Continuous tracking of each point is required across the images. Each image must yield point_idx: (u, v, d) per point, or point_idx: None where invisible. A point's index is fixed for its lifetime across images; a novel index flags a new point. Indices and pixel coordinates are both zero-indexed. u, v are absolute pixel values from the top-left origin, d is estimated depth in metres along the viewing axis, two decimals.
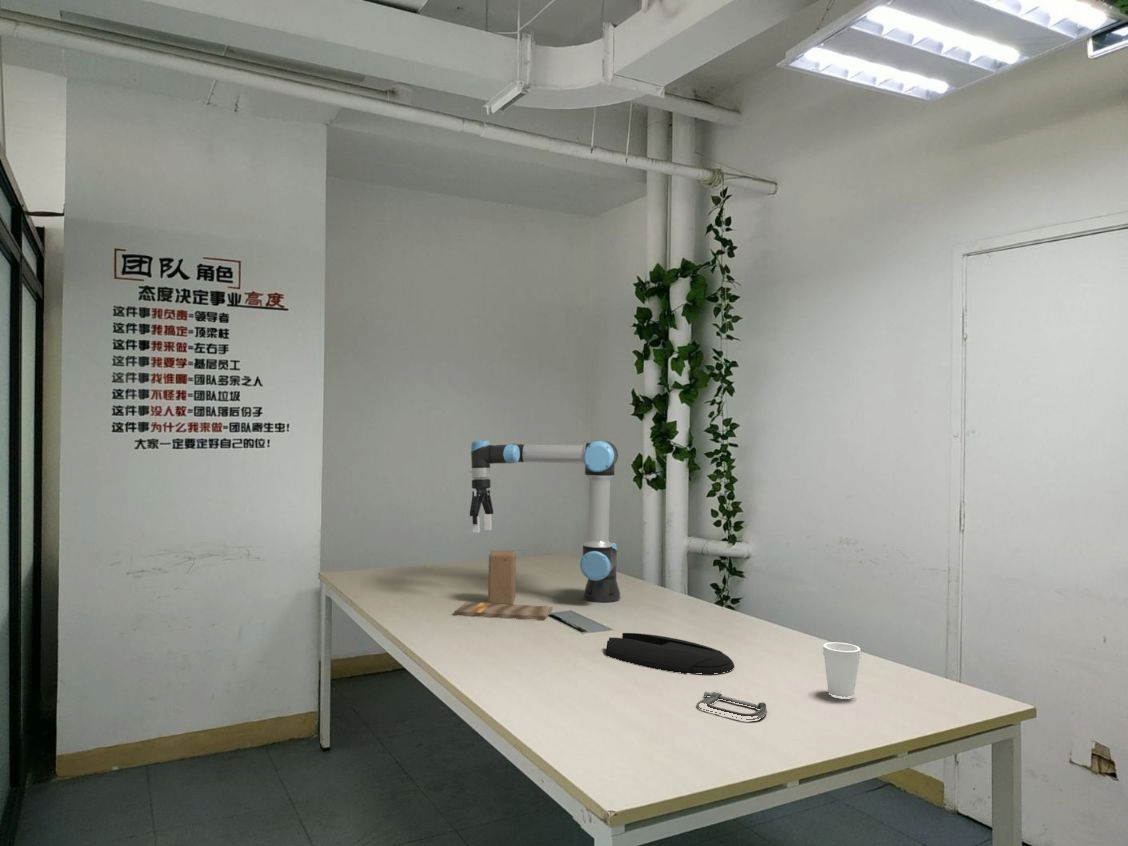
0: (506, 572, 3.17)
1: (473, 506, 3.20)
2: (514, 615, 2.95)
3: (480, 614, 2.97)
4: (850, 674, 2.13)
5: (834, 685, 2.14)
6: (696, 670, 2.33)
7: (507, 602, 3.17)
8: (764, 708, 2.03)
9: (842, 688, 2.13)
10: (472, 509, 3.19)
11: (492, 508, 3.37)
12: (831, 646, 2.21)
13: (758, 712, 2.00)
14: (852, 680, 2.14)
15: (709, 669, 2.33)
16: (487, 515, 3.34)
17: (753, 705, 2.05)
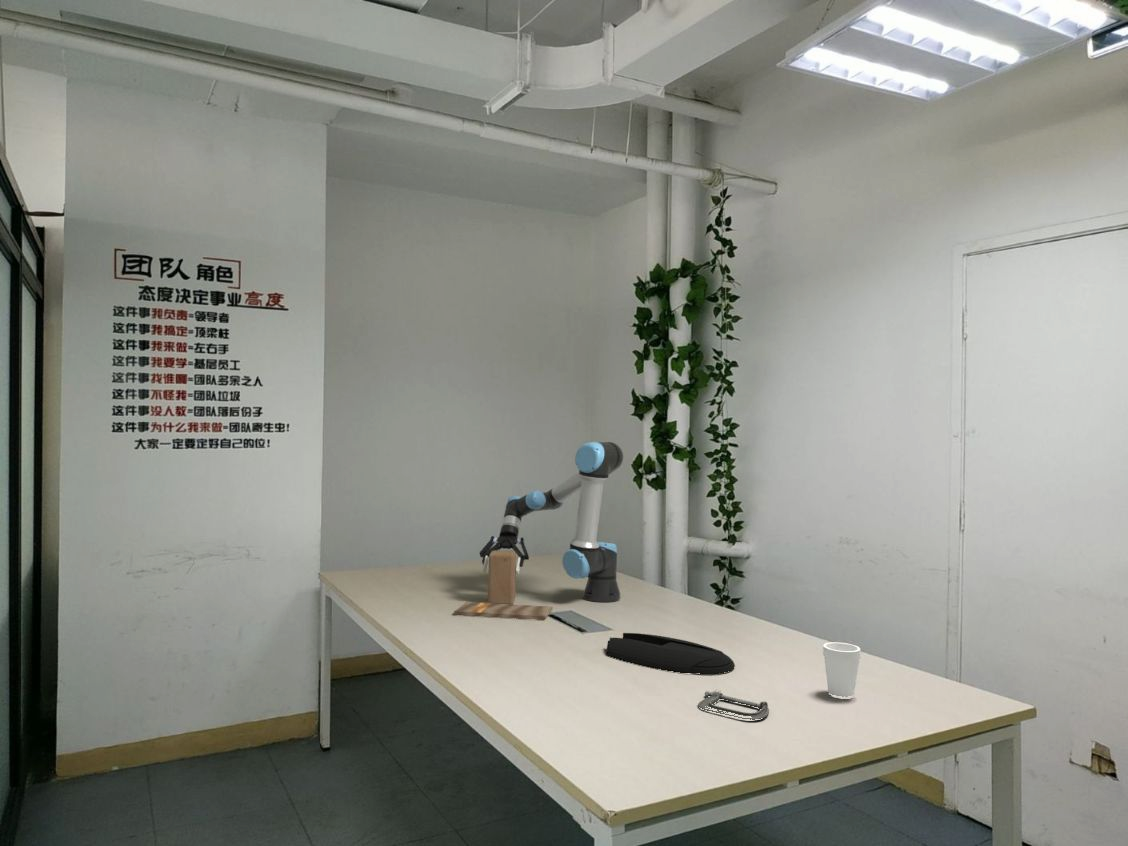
0: (506, 572, 3.17)
1: None
2: (514, 615, 2.95)
3: (480, 614, 2.97)
4: (850, 674, 2.13)
5: (834, 685, 2.14)
6: (697, 670, 2.33)
7: (507, 602, 3.17)
8: (766, 707, 2.03)
9: (842, 688, 2.13)
10: None
11: (526, 553, 3.27)
12: (831, 646, 2.21)
13: (760, 711, 2.00)
14: (852, 680, 2.14)
15: (710, 669, 2.33)
16: None
17: (755, 704, 2.05)
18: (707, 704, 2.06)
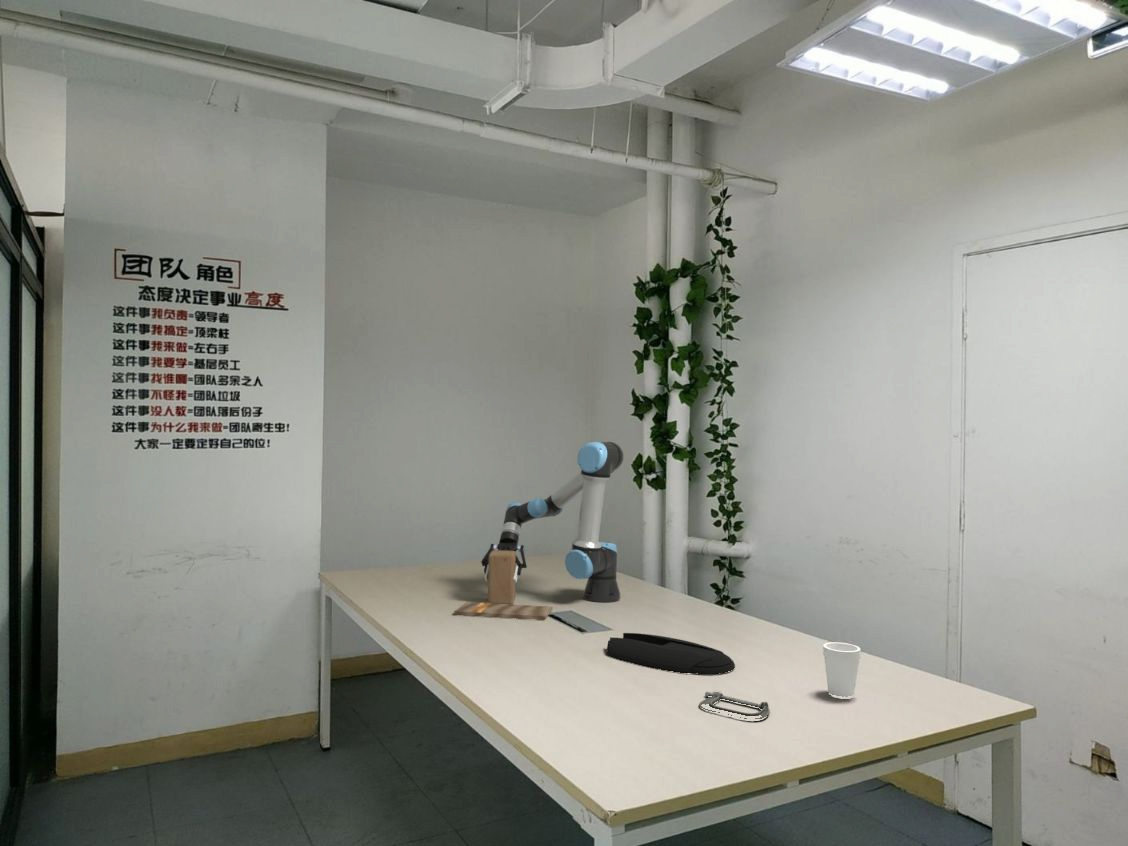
0: (506, 572, 3.17)
1: None
2: (514, 615, 2.95)
3: (480, 614, 2.97)
4: (850, 674, 2.13)
5: (834, 685, 2.14)
6: (697, 670, 2.33)
7: (507, 602, 3.17)
8: (767, 707, 2.03)
9: (842, 688, 2.13)
10: None
11: (524, 561, 3.23)
12: (831, 646, 2.21)
13: (761, 712, 2.00)
14: (852, 680, 2.14)
15: (710, 669, 2.33)
16: (516, 568, 3.22)
17: (755, 705, 2.06)
18: None
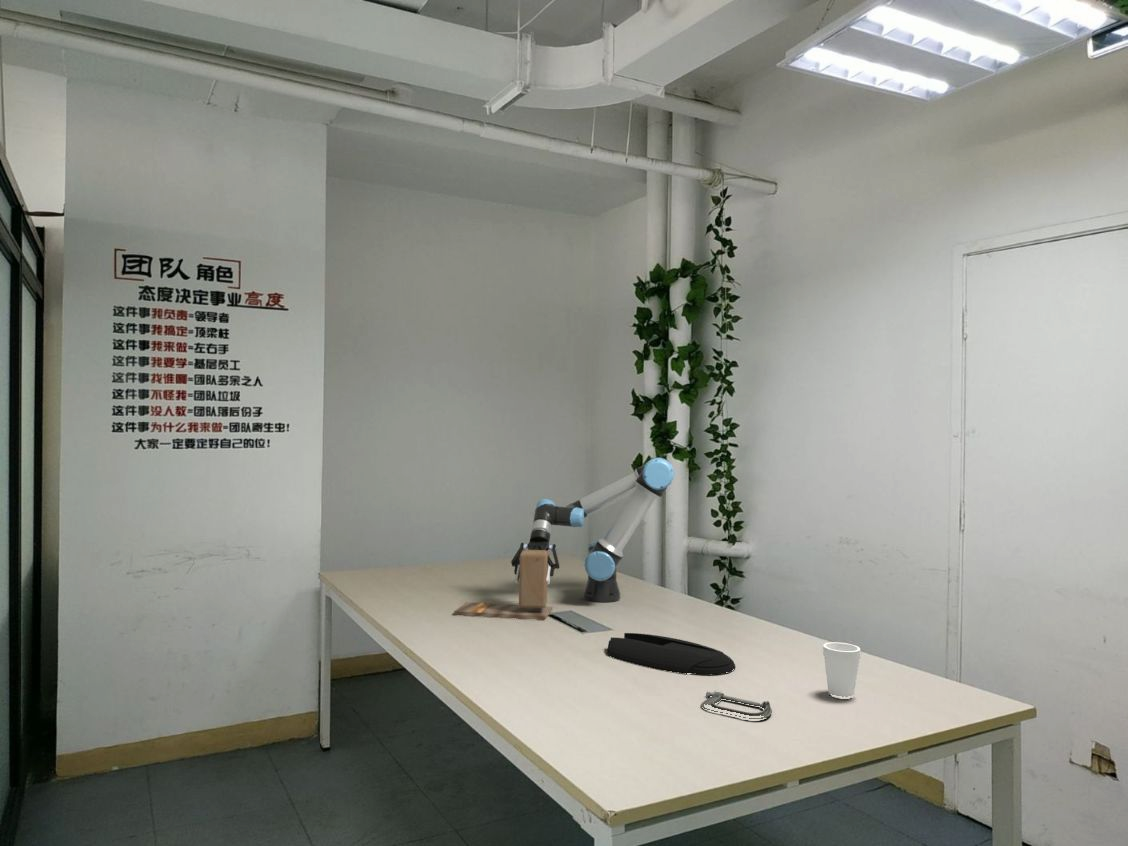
0: (538, 573, 2.97)
1: None
2: (514, 615, 2.95)
3: (480, 614, 2.97)
4: (850, 674, 2.13)
5: (834, 685, 2.14)
6: (697, 670, 2.33)
7: (539, 605, 2.97)
8: (769, 707, 2.04)
9: (842, 688, 2.13)
10: None
11: (557, 561, 3.04)
12: (831, 646, 2.21)
13: (764, 711, 2.01)
14: (852, 680, 2.14)
15: (709, 669, 2.33)
16: None
17: (757, 704, 2.06)
18: None
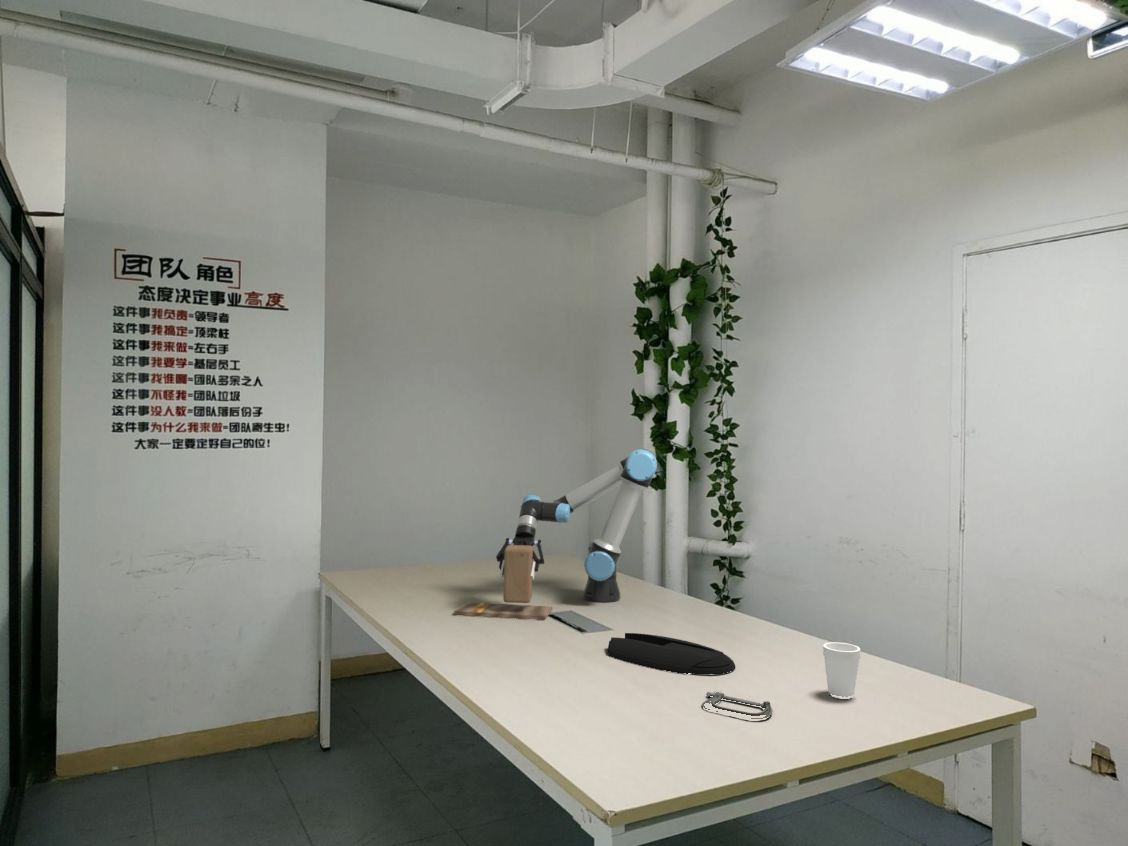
0: (523, 568, 2.98)
1: None
2: (514, 615, 2.95)
3: (480, 614, 2.97)
4: (850, 674, 2.13)
5: (834, 685, 2.14)
6: (696, 670, 2.33)
7: (524, 600, 2.98)
8: (769, 707, 2.04)
9: (842, 688, 2.13)
10: None
11: (542, 557, 3.04)
12: (831, 646, 2.21)
13: (765, 711, 2.01)
14: (852, 680, 2.14)
15: (709, 670, 2.33)
16: None
17: (758, 704, 2.06)
18: None
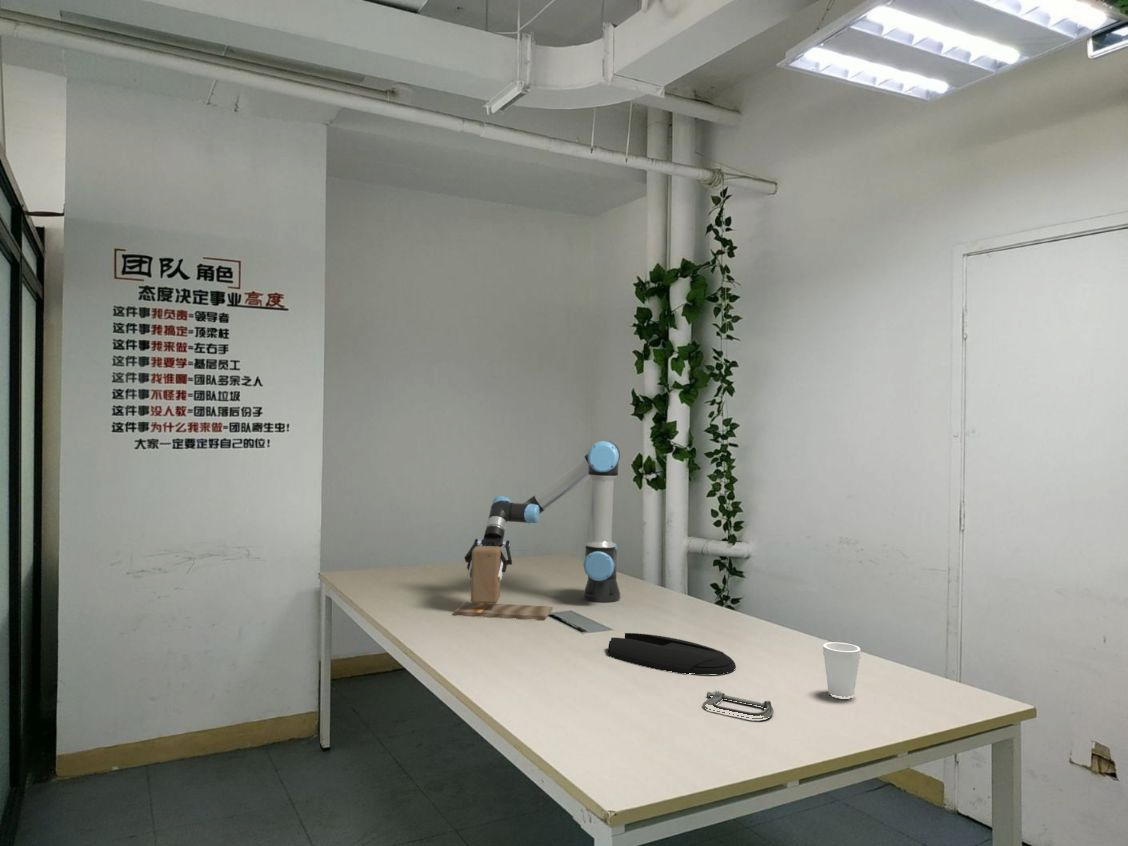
0: (490, 569, 3.00)
1: None
2: (514, 615, 2.95)
3: (480, 614, 2.97)
4: (850, 674, 2.13)
5: (834, 685, 2.14)
6: (697, 670, 2.33)
7: (491, 600, 3.00)
8: (770, 706, 2.04)
9: (842, 688, 2.13)
10: None
11: (510, 557, 3.06)
12: (831, 646, 2.21)
13: (766, 711, 2.01)
14: (852, 680, 2.14)
15: (710, 670, 2.33)
16: None
17: (758, 704, 2.06)
18: None
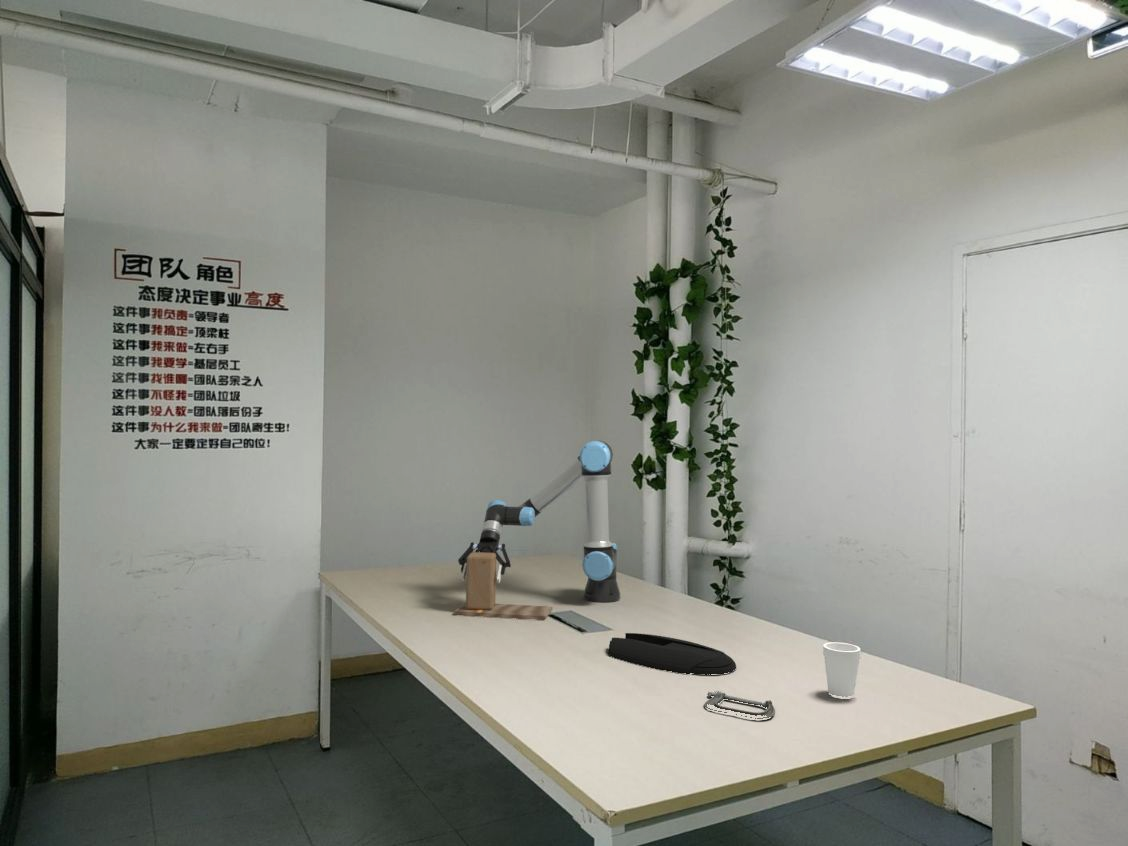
0: (485, 575, 3.01)
1: None
2: (514, 615, 2.95)
3: (480, 614, 2.97)
4: (850, 674, 2.13)
5: (834, 685, 2.14)
6: (698, 670, 2.33)
7: (486, 607, 3.01)
8: (771, 706, 2.04)
9: (842, 688, 2.13)
10: None
11: (508, 560, 3.08)
12: (831, 646, 2.21)
13: (767, 710, 2.01)
14: (852, 680, 2.14)
15: (710, 670, 2.32)
16: None
17: (760, 703, 2.06)
18: None
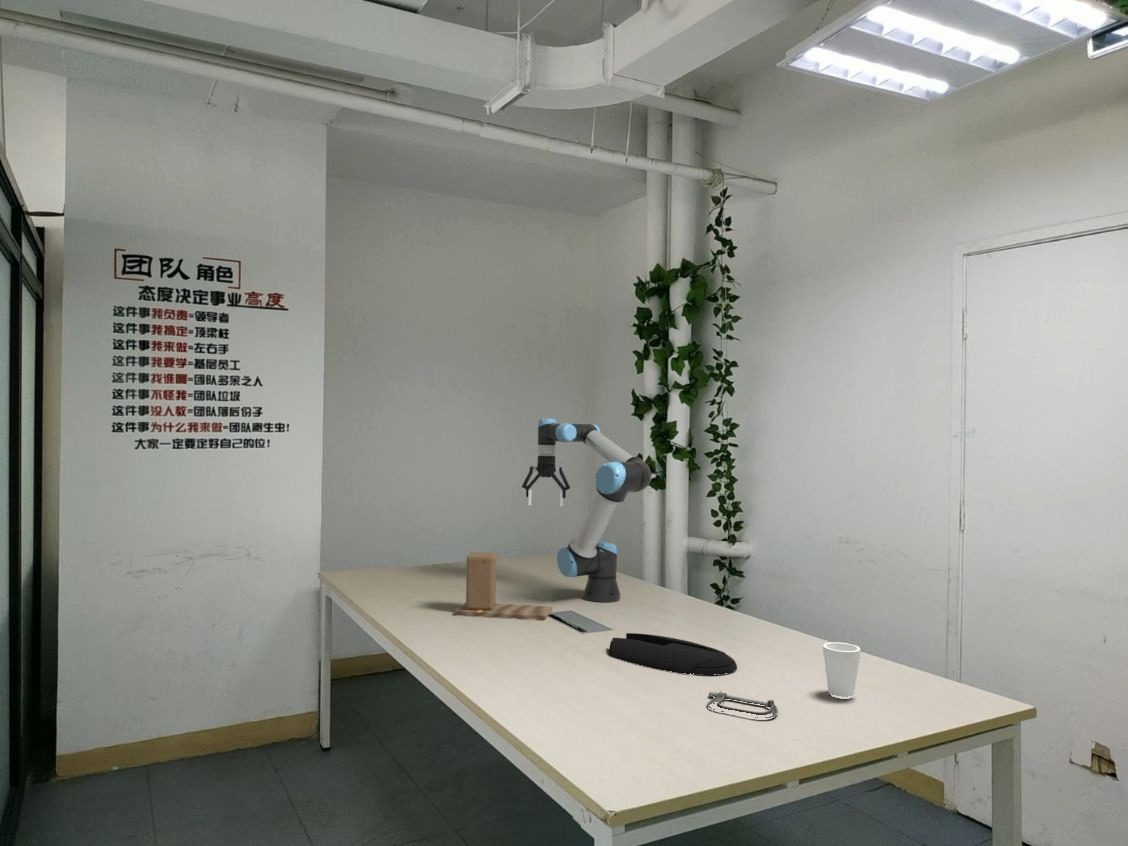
0: (485, 575, 3.01)
1: (525, 480, 3.43)
2: (514, 615, 2.95)
3: (480, 614, 2.97)
4: (850, 674, 2.13)
5: (834, 685, 2.14)
6: (698, 671, 2.32)
7: (486, 607, 3.01)
8: (774, 705, 2.05)
9: (842, 688, 2.13)
10: (524, 482, 3.43)
11: (567, 485, 3.39)
12: (831, 646, 2.21)
13: (771, 710, 2.02)
14: (852, 680, 2.14)
15: (711, 670, 2.32)
16: None
17: (762, 703, 2.07)
18: None
